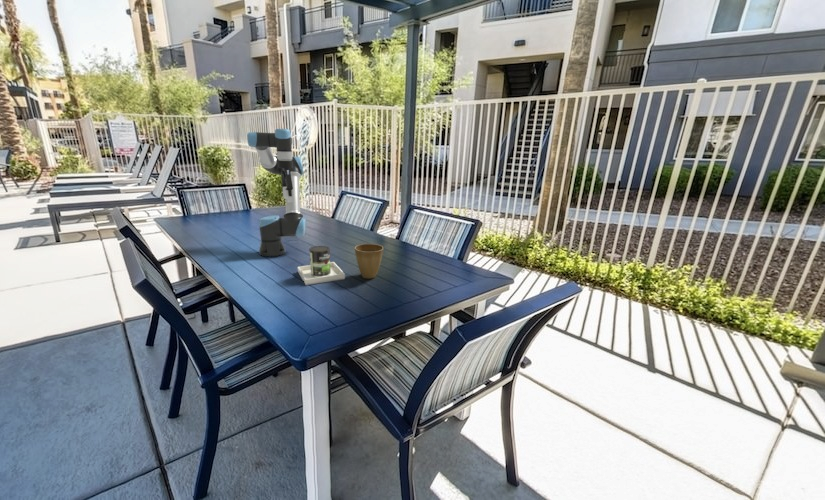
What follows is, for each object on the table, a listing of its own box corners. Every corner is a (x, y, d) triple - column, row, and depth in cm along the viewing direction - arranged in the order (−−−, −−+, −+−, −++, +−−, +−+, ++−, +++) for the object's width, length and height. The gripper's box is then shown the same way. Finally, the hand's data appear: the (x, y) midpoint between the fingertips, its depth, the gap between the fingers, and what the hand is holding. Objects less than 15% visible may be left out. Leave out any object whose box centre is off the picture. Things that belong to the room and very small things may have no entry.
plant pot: (378, 282, 174) (378, 252, 169) (351, 279, 176) (350, 250, 171) (386, 272, 187) (386, 244, 183) (360, 269, 190) (360, 242, 185)
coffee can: (334, 273, 181) (333, 248, 177) (319, 279, 173) (317, 252, 169) (322, 269, 187) (321, 244, 183) (306, 274, 179) (304, 248, 175)
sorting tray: (297, 272, 184) (297, 266, 183) (334, 266, 193) (334, 261, 192) (305, 285, 167) (305, 279, 166) (345, 279, 177) (345, 273, 176)
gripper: (274, 158, 187) (277, 197, 193) (281, 161, 166) (284, 204, 173) (288, 158, 191) (291, 196, 197) (296, 161, 170) (299, 203, 176)
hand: (288, 200), depth 185 cm, fingers open, 13 cm apart
